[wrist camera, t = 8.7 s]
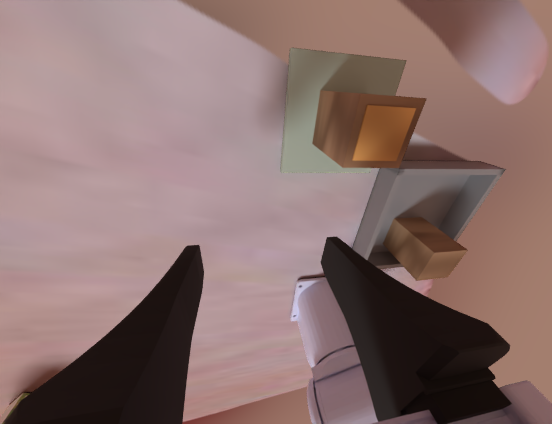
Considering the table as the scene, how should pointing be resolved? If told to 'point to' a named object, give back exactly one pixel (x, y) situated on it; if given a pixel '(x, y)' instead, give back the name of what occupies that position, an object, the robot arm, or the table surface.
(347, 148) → the label block
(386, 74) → the mat
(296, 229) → the table surface
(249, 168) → the table surface
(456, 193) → the bin
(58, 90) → the table surface
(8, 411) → the syrup box
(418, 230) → the plain block
